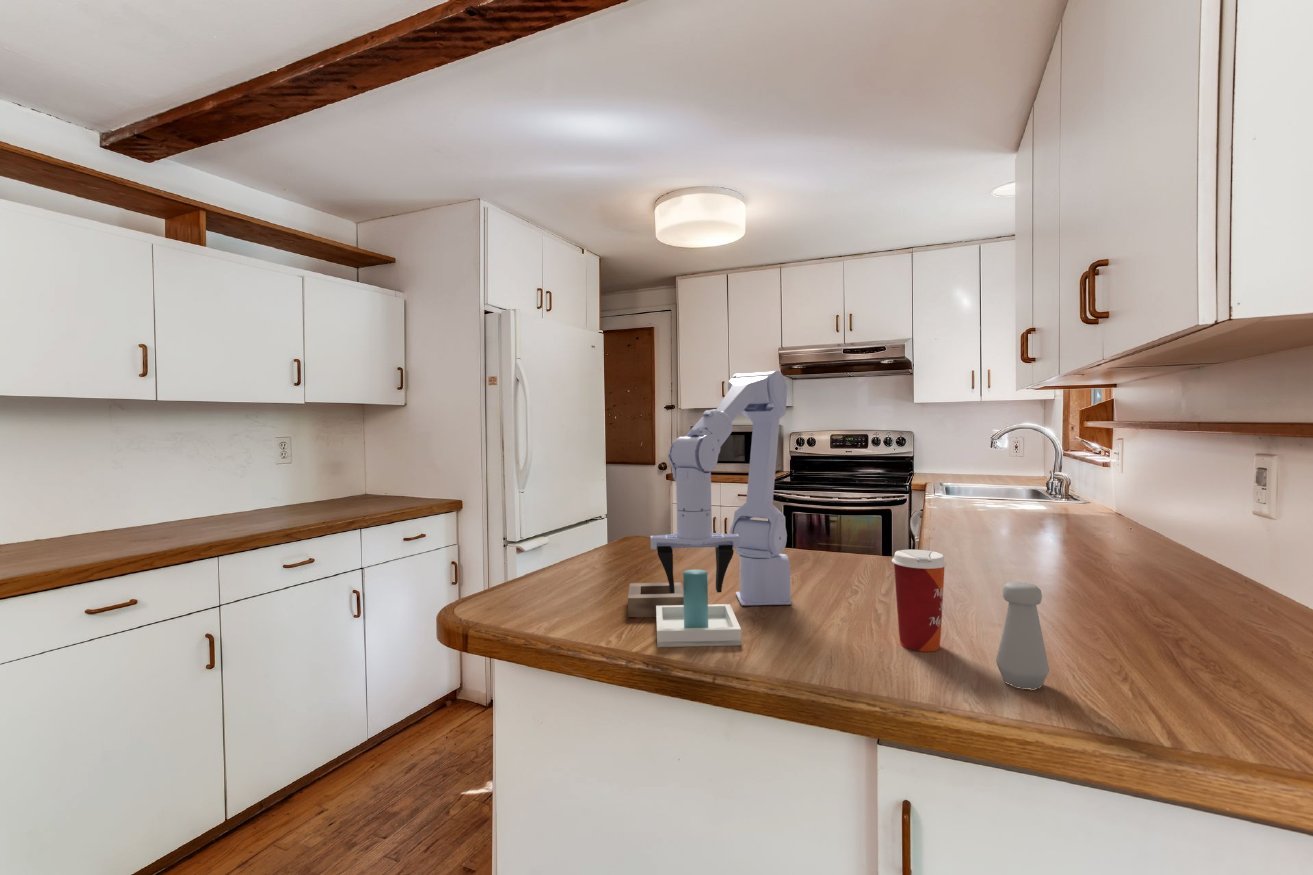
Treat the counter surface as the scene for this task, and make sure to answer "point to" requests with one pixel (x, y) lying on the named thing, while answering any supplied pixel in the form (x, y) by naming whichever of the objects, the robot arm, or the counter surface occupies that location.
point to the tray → (718, 633)
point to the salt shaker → (1022, 638)
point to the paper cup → (919, 598)
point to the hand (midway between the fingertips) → (695, 591)
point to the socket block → (652, 598)
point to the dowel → (695, 599)
